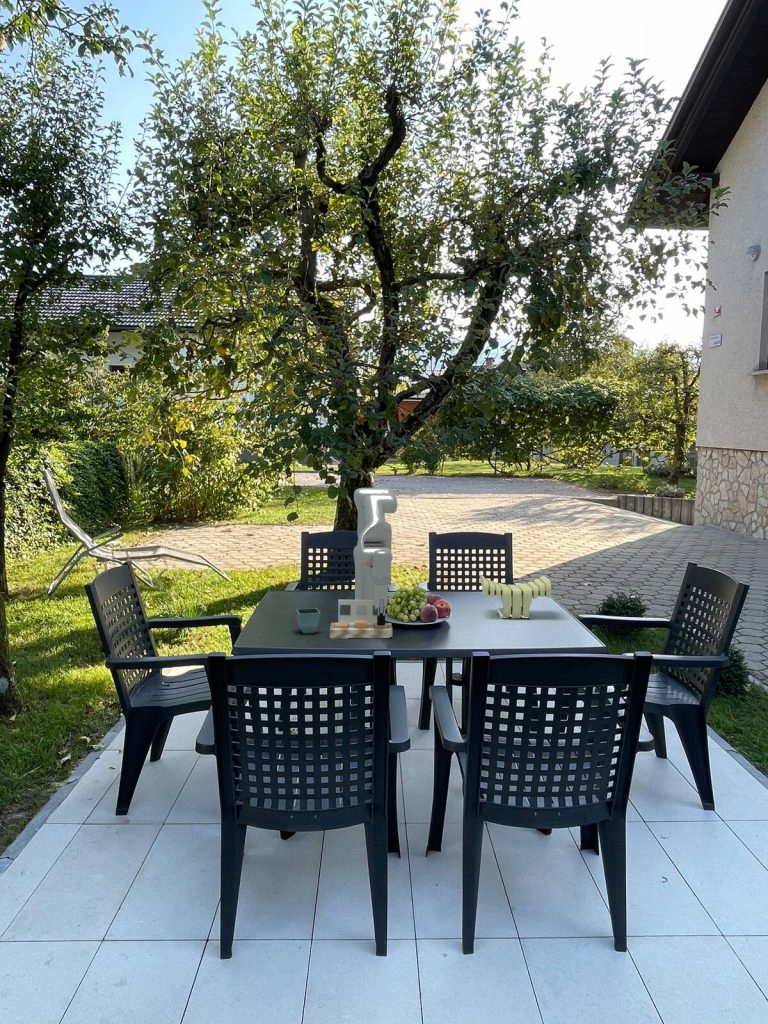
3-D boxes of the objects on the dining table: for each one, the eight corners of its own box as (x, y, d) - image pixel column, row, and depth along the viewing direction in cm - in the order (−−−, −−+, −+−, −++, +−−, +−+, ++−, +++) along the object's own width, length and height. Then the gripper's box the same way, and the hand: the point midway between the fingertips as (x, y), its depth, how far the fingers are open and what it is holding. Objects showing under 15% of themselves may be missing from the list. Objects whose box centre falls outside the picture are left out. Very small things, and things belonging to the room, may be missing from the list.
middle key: (355, 631, 293) (355, 622, 292) (355, 628, 298) (355, 620, 297) (367, 631, 293) (367, 623, 292) (367, 628, 298) (367, 620, 297)
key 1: (335, 634, 293) (335, 625, 292) (335, 631, 298) (335, 623, 297) (347, 634, 293) (347, 626, 292) (347, 631, 298) (347, 623, 297)
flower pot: (299, 635, 293) (299, 613, 292) (295, 630, 301) (296, 609, 301) (320, 634, 295) (320, 612, 295) (316, 629, 304) (316, 608, 303)
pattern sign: (337, 627, 308) (338, 601, 307) (338, 624, 313) (338, 598, 312) (384, 627, 308) (385, 601, 307) (384, 624, 313) (384, 599, 312)
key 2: (374, 634, 293) (374, 626, 293) (374, 631, 298) (374, 623, 298) (387, 634, 293) (387, 626, 293) (386, 631, 298) (386, 623, 298)
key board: (329, 638, 289) (329, 629, 289) (331, 630, 301) (331, 622, 301) (392, 638, 290) (392, 630, 289) (391, 631, 302) (391, 623, 301)
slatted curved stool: (483, 619, 325) (484, 580, 324) (478, 611, 341) (479, 574, 340) (550, 620, 325) (551, 581, 323) (542, 612, 341) (543, 575, 339)
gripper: (372, 577, 301) (371, 620, 302) (372, 583, 286) (372, 629, 288) (390, 577, 301) (389, 620, 303) (391, 584, 286) (390, 629, 288)
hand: (381, 624), depth 295 cm, fingers closed
